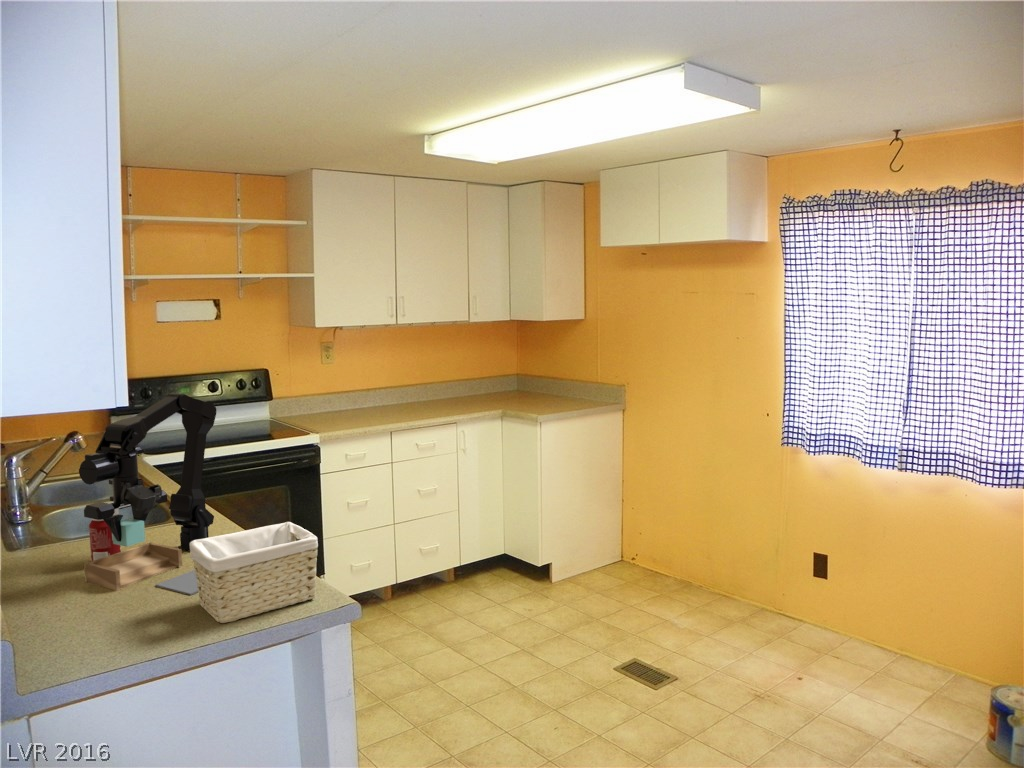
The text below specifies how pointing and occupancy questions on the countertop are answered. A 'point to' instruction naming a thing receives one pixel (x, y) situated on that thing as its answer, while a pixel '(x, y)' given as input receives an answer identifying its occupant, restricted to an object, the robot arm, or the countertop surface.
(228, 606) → the storage basket
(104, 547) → the soda can
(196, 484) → the robot arm
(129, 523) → the cube
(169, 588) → the mat
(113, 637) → the countertop surface
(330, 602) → the countertop surface
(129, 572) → the crate
